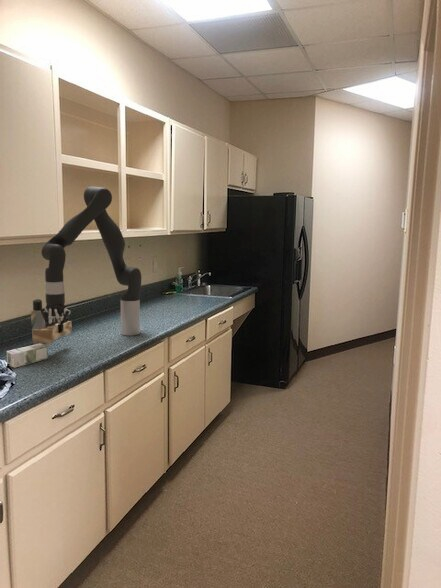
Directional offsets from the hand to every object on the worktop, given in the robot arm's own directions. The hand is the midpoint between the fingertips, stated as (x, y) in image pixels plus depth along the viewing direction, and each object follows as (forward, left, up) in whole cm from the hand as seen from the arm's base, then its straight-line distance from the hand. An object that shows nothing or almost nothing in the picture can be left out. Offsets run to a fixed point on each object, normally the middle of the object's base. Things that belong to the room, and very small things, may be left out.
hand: (56, 332), depth 192 cm
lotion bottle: (-10, -16, -9) cm, 21 cm away
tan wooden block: (0, 0, -2) cm, 2 cm away
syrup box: (+7, -1, -6) cm, 10 cm away
